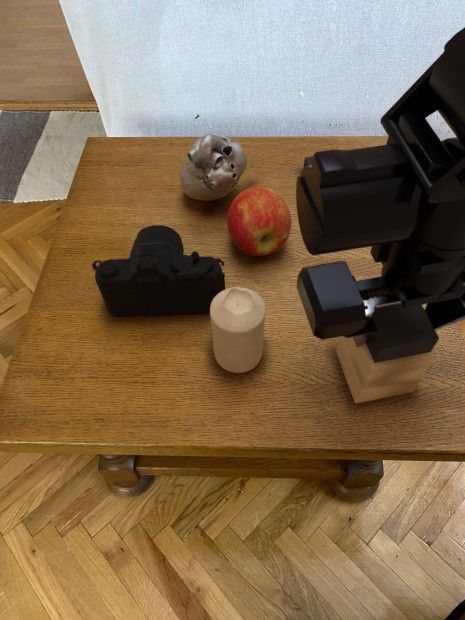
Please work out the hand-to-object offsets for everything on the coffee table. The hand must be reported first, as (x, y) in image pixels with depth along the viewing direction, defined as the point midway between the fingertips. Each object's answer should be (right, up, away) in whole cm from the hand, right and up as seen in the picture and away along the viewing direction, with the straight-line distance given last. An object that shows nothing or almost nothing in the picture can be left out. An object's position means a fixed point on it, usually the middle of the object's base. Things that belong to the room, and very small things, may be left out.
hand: (390, 336), depth 47 cm
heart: (-18, +19, +23) cm, 35 cm away
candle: (-15, -2, +8) cm, 17 cm away
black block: (0, 0, -1) cm, 1 cm away
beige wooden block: (0, -4, +6) cm, 7 cm away
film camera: (-24, +5, +13) cm, 28 cm away
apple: (-12, +12, +18) cm, 24 cm away
